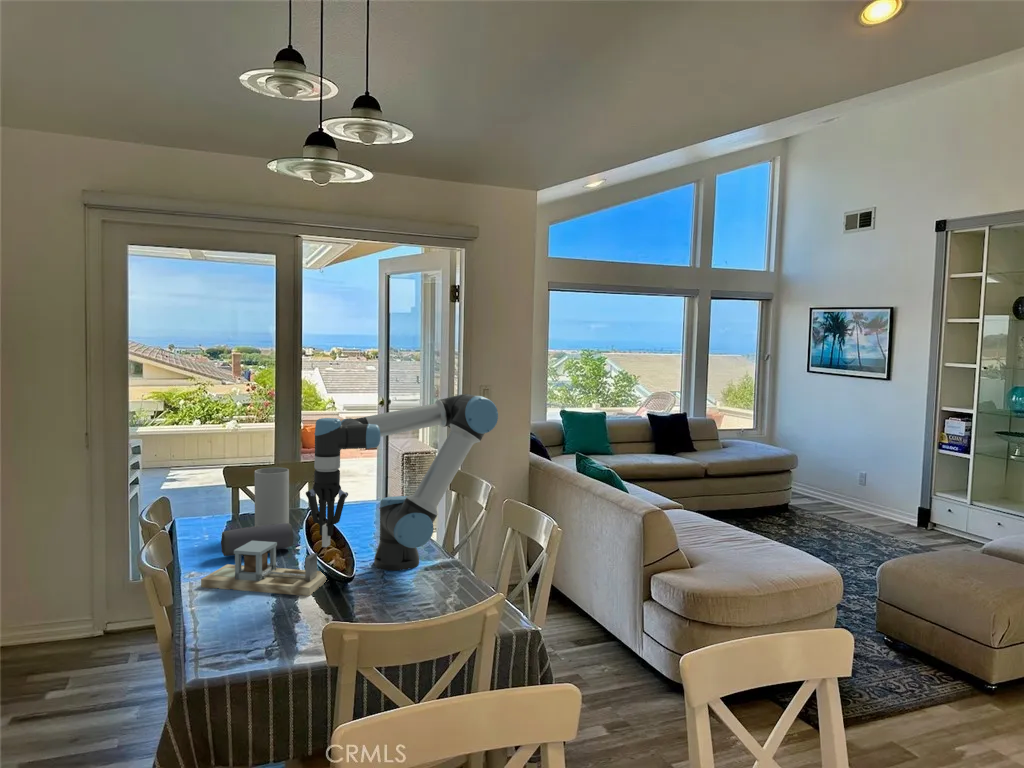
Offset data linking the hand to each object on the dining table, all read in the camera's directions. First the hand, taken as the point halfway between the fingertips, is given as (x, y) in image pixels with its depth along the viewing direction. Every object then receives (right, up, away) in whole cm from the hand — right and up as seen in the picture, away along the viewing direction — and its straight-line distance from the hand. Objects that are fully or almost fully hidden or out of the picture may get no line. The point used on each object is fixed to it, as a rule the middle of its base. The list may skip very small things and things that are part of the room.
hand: (326, 545), depth 205 cm
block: (-23, -9, +4) cm, 25 cm away
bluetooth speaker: (-33, -11, +32) cm, 47 cm away
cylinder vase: (-37, -9, +56) cm, 67 cm away
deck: (-20, -13, +4) cm, 24 cm away
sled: (-16, -10, +3) cm, 19 cm away
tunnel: (-23, -10, +4) cm, 25 cm away
